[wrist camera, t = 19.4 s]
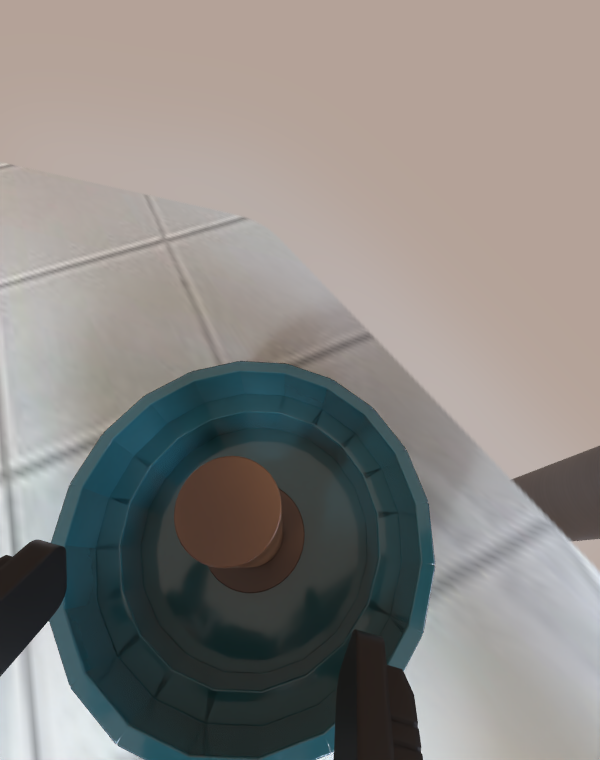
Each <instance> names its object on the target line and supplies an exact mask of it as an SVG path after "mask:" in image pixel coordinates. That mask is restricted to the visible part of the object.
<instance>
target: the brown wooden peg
mask: <svg viewBox="0 0 600 760" xmlns="http://www.w3.org/2000/svg"><path fill="white" fill-rule="evenodd" d="M174 525H175V530H176V533H177V536H178V539H179V541H180V543H181V545H182V546H183V548H184V549H185V550H186V551H187V553H188V554H189V555H190V556H191V557H193V558H194V559H195V560H197V561H199V562H200V563H202V564H205V565H207V566H208V568H209V570H210V571H211V572H212V574H213V575H214V576H215V578H216V579H217V580H218V581H219V582H221V583H222V584H223V585H225V586H226V587H228V588H230V589H232V590H235V591H238V592H242V593H259V592H263V591H266V590H269V589H271V588H273V587H275V586H277V585H279V584H280V583H281V582H282V581H284V580H285V579H286V578H287V577H288V576H289V575H290V574H291V572H292V571H293V570H294V568H295V567H296V565H297V563H298V561H299V559H300V557H301V554H302V550H303V546H304V536H305V533H304V524H303V519H302V516H301V513H300V511H299V509H298V507H297V506H296V504H295V503H294V501H293V500H292V499H291V498H290V497H289V496H288V495H287V494H286V493H285V492H284V491H282V490H281V489H279V488H278V486H277V484H276V482H275V480H274V479H273V477H272V476H271V474H270V473H269V472H268V471H267V470H266V469H265V468H264V467H263V466H261V465H260V464H258V463H257V462H255V461H253V460H251V459H248V458H244V457H239V456H225V457H220V458H217V459H213V460H211V461H209V462H207V463H205V464H203V465H202V466H200V467H199V468H198V469H196V470H195V471H194V472H193V473H192V474H191V475H190V476H189V477H188V479H187V480H186V481H185V483H184V484H183V486H182V488H181V490H180V492H179V494H178V497H177V500H176V504H175V509H174Z"/></svg>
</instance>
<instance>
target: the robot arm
mask: <svg viewBox="0 0 600 760" xmlns="http://www.w3.org/2000/svg"><path fill="white" fill-rule="evenodd" d="M66 589H67V568H66V549H65V547H63V546H60V545H56V544H52V543H49V542H45V541H42V540H34V541H32V542H30V543H29V544H27V545H26V546H25V547H24V548H23V549H21V550H20V551H19V552H18V553H17V554H16V555H14V556H13V557H12V556H8V555H5V556H3V557H1V558H0V676H1V675H2V674H3V673H4V672H5V671H6V669H7V668H8V667H9V666H10V665H11V664H12V662H13V661H14V660H15V659H16V658H17V657H18V656H19V654H20V653H21V652H22V651H23V650H24V649H25V647H26V646H27V645H28V644H29V643H30V642H31V640H32V639H33V638H34V637H35V636H36V635H37V633H38V632H39V631H40V630H41V629H42V628H43V627H44V625H45V624H46V623H47V622H48V621H49V620H50V618H51V617H52V616H53V615H54V614H55V612H56V611H57V610H58V608H59V607H60V605H61V603H62V601H63V599H64V596H65V593H66ZM417 725H418V721H417V713H416V706H415V699H414V694H413V692H412V690H411V687H410V685H409V683H408V681H407V679H406V676H405V674H404V672H403V670H402V669H400V668H397V667H393V666H390V665H387V662H386V650H385V642H384V638H383V637H381V636H377V635H374V634H370V633H367V632H363V631H359V630H356V629H354V630H353V633H352V635H351V638H350V641H349V644H348V647H347V651H346V654H345V657H344V660H343V663H342V666H341V669H340V673H339V678H338V685H337V695H336V715H335V739H334V760H423V757H422V754H421V742H420V735H419V729H418V727H417Z"/></svg>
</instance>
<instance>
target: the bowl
mask: <svg viewBox="0 0 600 760" xmlns="http://www.w3.org/2000/svg"><path fill="white" fill-rule="evenodd" d="M225 456H239V457H244V458H248V459H251V460H253V461H255V462H257V463H258V464H260V465H261V466H263V467H264V468H265V469H266V470H267V471H268V472H269V473H270V474H271V476H272V477H273V479H274V480H275V482H276V484H277V486H278V488H279V489H281V490H282V491H284V492H285V493H286V494H287V495H288V496H289V497H290V498H291V499H292V500H293V501H294V503H295V504H296V506H297V507H298V509H299V511H300V513H301V516H302V519H303V524H304V533H305V536H304V546H303V550H302V554H301V557H300V559H299V561H298V563H297V565H296V567H295V568H294V570H293V571H292V572H291V574H290V575H289V576H288V577H287V578H286V579H285V580H284V581H282V582H281V583H280V584H279V585H277V586H275V587H273V588H271V589H269V590H266V591H263V592H259V593H242V592H238V591H235V590H232V589H230V588H228V587H226V586H225V585H223V584H222V583H221V582H219V581H218V580H217V579H216V578H215V576H214V575H213V574H212V572H211V571H210V570H209V568H208V566H207V565H205V564H202V563H200V562H199V561H197V560H195V559H194V558H193V557H191V556H190V555H189V554H188V553H187V551H186V550H185V549H184V548H183V546H182V545H181V543H180V541H179V539H178V536H177V533H176V530H175V525H174V509H175V504H176V500H177V497H178V494H179V492H180V490H181V488H182V486H183V484H184V483H185V481H186V480H187V479H188V477H189V476H190V475H191V474H192V473H193V472H194V471H195V470H196V469H198V468H199V467H200V466H202V465H203V464H205V463H207V462H209V461H211V460H213V459H217V458H220V457H225ZM427 502H428V500H427V498H426V496H425V493H424V491H423V488H422V486H421V483H420V481H419V479H418V476H417V474H416V471H415V469H414V467H413V464H412V462H411V459H410V457H409V455H408V452H407V450H405V447H404V446H403V445H402V443H401V442H400V441H399V440H398V438H397V437H396V436H395V435H394V433H393V432H392V431H391V430H390V428H389V427H388V426H387V425H386V423H385V422H384V421H383V420H382V418H381V417H380V416H379V415H378V413H377V412H376V411H375V410H374V409H372V407H371V406H370V405H368V404H367V403H365V402H364V401H363V400H361V399H360V398H358V397H357V396H356V395H354V394H353V393H351V392H350V391H348V390H347V389H346V388H344V387H343V386H341V385H340V384H338V383H337V382H336V381H334V380H332V379H330V378H327V377H324V376H321V375H319V374H316V373H313V372H310V371H307V370H304V369H301V368H298V367H295V366H292V365H289V364H285V363H267V362H248V361H240V362H239V361H237V362H233V363H228V364H224V365H219V366H214V367H210V368H205V369H201V370H196V371H192V372H189V373H187V374H185V375H183V376H182V377H180V378H178V379H176V380H174V381H172V382H170V383H168V384H166V385H164V386H162V387H160V388H158V389H156V390H155V391H153V392H151V393H149V394H147V395H145V396H144V397H142V398H141V399H140V400H139V401H138V402H137V403H136V404H135V405H134V406H132V407H131V408H130V409H129V410H128V411H127V412H126V413H125V414H124V415H122V416H121V417H120V418H119V419H118V420H117V421H116V422H115V423H114V424H113V425H111V426H110V427H109V428H108V429H107V430H106V431H105V432H104V433H103V434H102V435H101V437H100V438H99V440H98V442H97V443H96V445H95V446H94V448H93V449H92V451H91V452H90V454H89V455H88V457H87V458H86V460H85V462H84V463H83V465H82V466H81V468H80V469H79V471H78V472H77V474H76V475H75V477H74V478H73V480H72V482H71V483H70V486H69V488H68V491H67V494H66V497H65V500H64V503H63V507H62V510H61V513H60V516H59V519H58V522H57V525H56V528H55V532H54V535H53V538H52V541H51V543H52V544H56V545H60V546H63V547H65V549H66V568H67V589H66V593H65V596H64V599H63V601H62V603H61V605H60V607H59V608H58V610H57V611H56V612H55V614H54V615H53V616H52V617H51V618H50V620H49V622H50V625H51V628H52V631H53V634H54V638H55V641H56V644H57V647H58V650H59V654H60V657H61V660H62V663H63V666H64V670H65V673H66V676H67V679H68V682H69V685H70V686H71V689H72V690H73V692H74V693H75V694H76V695H77V697H78V698H79V699H80V700H81V702H82V703H83V704H84V705H85V707H86V708H87V709H88V710H89V712H90V713H91V714H92V715H93V717H94V718H95V719H96V720H97V722H98V723H99V724H100V725H101V726H102V728H103V729H104V730H105V731H106V733H107V734H108V735H109V736H110V738H111V739H112V740H113V741H114V743H115V744H117V743H118V744H117V745H118V746H119V747H121V748H123V749H125V750H127V751H129V752H131V753H133V754H135V755H137V756H139V757H141V758H143V759H144V760H317V759H320V758H322V757H325V756H327V755H330V754H331V752H334V739H335V715H336V695H337V685H338V678H339V673H340V669H341V666H342V663H343V660H344V657H345V654H346V651H347V647H348V644H349V641H350V638H351V635H352V633H353V630H354V629H356V630H359V631H363V632H367V633H370V634H374V635H377V636H381V637H383V638H384V642H385V650H386V662H387V665H390V666H393V667H397V668H400V669H402V670H403V672H404V670H405V668H406V666H407V664H408V662H409V660H410V658H411V656H412V654H413V653H414V651H415V649H416V647H417V645H418V643H419V641H420V639H421V637H422V633H423V632H424V627H425V621H426V616H427V610H428V604H429V599H430V593H431V588H432V582H433V577H434V571H435V566H434V565H435V558H434V549H433V540H432V531H431V522H430V513H429V504H428V503H427Z"/></svg>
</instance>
